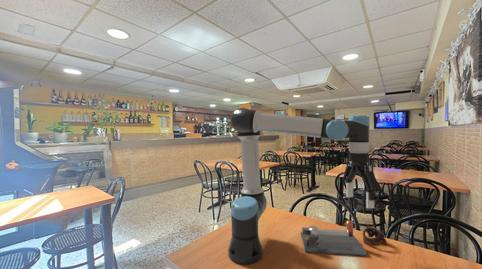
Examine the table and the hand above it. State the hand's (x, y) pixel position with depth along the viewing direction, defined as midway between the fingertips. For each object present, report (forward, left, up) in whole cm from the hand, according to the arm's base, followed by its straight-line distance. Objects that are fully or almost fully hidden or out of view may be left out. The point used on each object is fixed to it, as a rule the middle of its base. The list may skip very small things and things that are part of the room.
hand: (359, 202), depth 88 cm
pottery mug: (+11, +11, -23) cm, 28 cm away
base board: (-10, +6, -23) cm, 26 cm away
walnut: (-21, +4, -21) cm, 29 cm away
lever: (-12, +6, -20) cm, 24 cm away
